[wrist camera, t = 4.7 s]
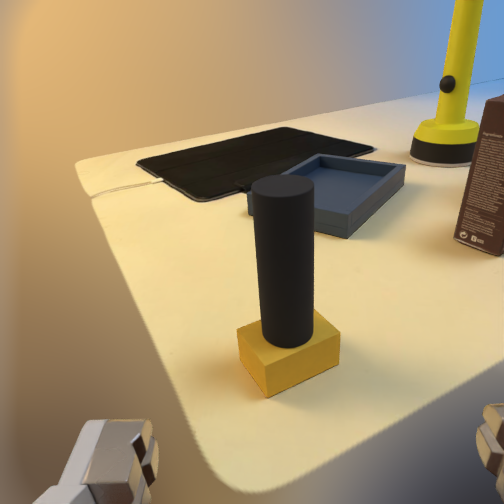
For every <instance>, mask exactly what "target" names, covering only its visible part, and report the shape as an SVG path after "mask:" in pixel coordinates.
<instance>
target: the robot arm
mask: <svg viewBox="0 0 504 504" xmlns="http://www.w3.org/2000/svg"><path fill="white" fill-rule="evenodd" d="M482 415H483V417H484V419H485V422H484V423H483V424H481V425H480V426H479V427H478V429H477V433H476V442H477V449H478V452H479V455H480V458H481V460H482V462H483V464H484V466H485V468H486V469H487V470H489V471H490V472H491V473H492V474H494V475H495V476H496V477H497V481H496V486H495V488H496V489H497V491H498V493H499V495H500V497H501V499H502V501H503V503H504V403H499V404H488V405H487V406H485V407H484V410H483V413H482ZM152 428H153V427H152V424H151V421H150V419H110V420H109V419H108V420H88V421H87V422H86V423H85V425H84V426H83V427H82V430H81V432H80V434H79V437H78V439H77V441H76V444H75V446H74V448H73V450H72V453H71V455H70V457H69V460H68V462H67V465H66V467H65V469H64V471H63V474H62V476H61V478H60V481H59V483H58V485H57V486H51V487H49V489H47V490H46V491H45V492H44V493H43V494H42V495H41V496H40V497H39V498H38V499H37V500H36V501H35V502H33V503H32V504H150V502H151V495H150V492H149V489H148V487H149V486H150V485H151V484H152V483H153V482H154V480H155V479H156V475H157V470H158V460H159V451H158V444H157V440H156V439H155V438H154V437H152V436H151V433H152Z"/></svg>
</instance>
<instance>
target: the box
mask: <svg viewBox="0 0 504 504" xmlns="http://www.w3.org/2000/svg"><path fill="white" fill-rule="evenodd" d="M453 238H454V239H455V240H457V241H459V242H460V243H463V244H466V245H468V246H471V247H473V248H476V249H479V250H481V251H485V252H488V253H491V254H494V255H501V254H502V253H504V94H503V95H502V96H499V97H495V98H491V99H488V100H486V103H485V107H484V112H483V116H482V120H481V124H480V128H479V132H478V137H477V141H476V145H475V149H474V153H473V158H472V162H471V166H470V170H469V174H468V178H467V183H466V187H465V192H464V196H463V199H462V204H461V208H460V212H459V216H458V221H457V225H456V229H455V233H454V237H453Z"/></svg>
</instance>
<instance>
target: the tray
mask: <svg viewBox="0 0 504 504" xmlns="http://www.w3.org/2000/svg"><path fill="white" fill-rule="evenodd" d="M405 170H406V165H403V164H395V163H387V162H379V161H372V160H364V159H356V158H348V157H340V156H333V155H325V154H316V155H314V156H313V157H311V158H309V159H307V160H306V161H304V162H302V163H300V164H298V165H297V166H295V167H293V168H291V169H290V170H288V171H286V172H284V173H282V174H290V175H299V176H304V177H307V178H309V179H311V180H312V181H313V182H314V231H317V232H321V233H325V234H330V235H334V236H338V237H342V238H346V239H347V238H348V237H349V236H351V235H352V234H353V233H354V232H355V231H356V230H357V229H358V228H359V227H360V226H361V225H362V224H363V223H364V222H365V221H366V220H367V219H368V218H369V217H370V216H372V215H373V214H374V213H375V212H376V211H377V210H378V209H379V208H380V207H381V206H382V205H383V204H384V203H385V202H386V201H387V200H388V199H389V198H390V197H391V196H393V195H394V194H395V193H396V192H397V191H398V190H399V189H400V188H401V187H402V186H403V185H404V177H405ZM282 174H281V175H282ZM247 202H248V214H249V215H252V216H253V206H252V193H251V191H250V192H248V193H247Z"/></svg>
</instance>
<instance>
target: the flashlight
mask: <svg viewBox="0 0 504 504" xmlns="http://www.w3.org/2000/svg"><path fill="white" fill-rule="evenodd" d="M483 1H484V0H456V1H455V7H454V13H453V18H452V24H451V30H450V36H449V42H448V48H447V54H446V60H445V65H444V71H443V77H442V79H441V81H440V95H439V101H438V107H437V112H436V118H435V119H429V120H425V121H423V122H421V124H420V125H419V127H418V129H417V130H416V132H415V133H414V136H413V141H412V146H411V150H410V155H409V157H410V158H411V159H412V160H413V161H415V162H418V163H421V164H425V165H430V166H438V167H462V166H468V165H471V162H472V158H473V153H474V149H475V145H476V141H477V137H478V132H479V125H478V123H477V122H475V121H472V120H467V119H465V113H466V107H467V101H468V94H469V88H470V81H471V76H472V69H473V63H474V57H475V51H476V45H477V38H478V32H479V25H480V20H481V14H482V7H483Z"/></svg>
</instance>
